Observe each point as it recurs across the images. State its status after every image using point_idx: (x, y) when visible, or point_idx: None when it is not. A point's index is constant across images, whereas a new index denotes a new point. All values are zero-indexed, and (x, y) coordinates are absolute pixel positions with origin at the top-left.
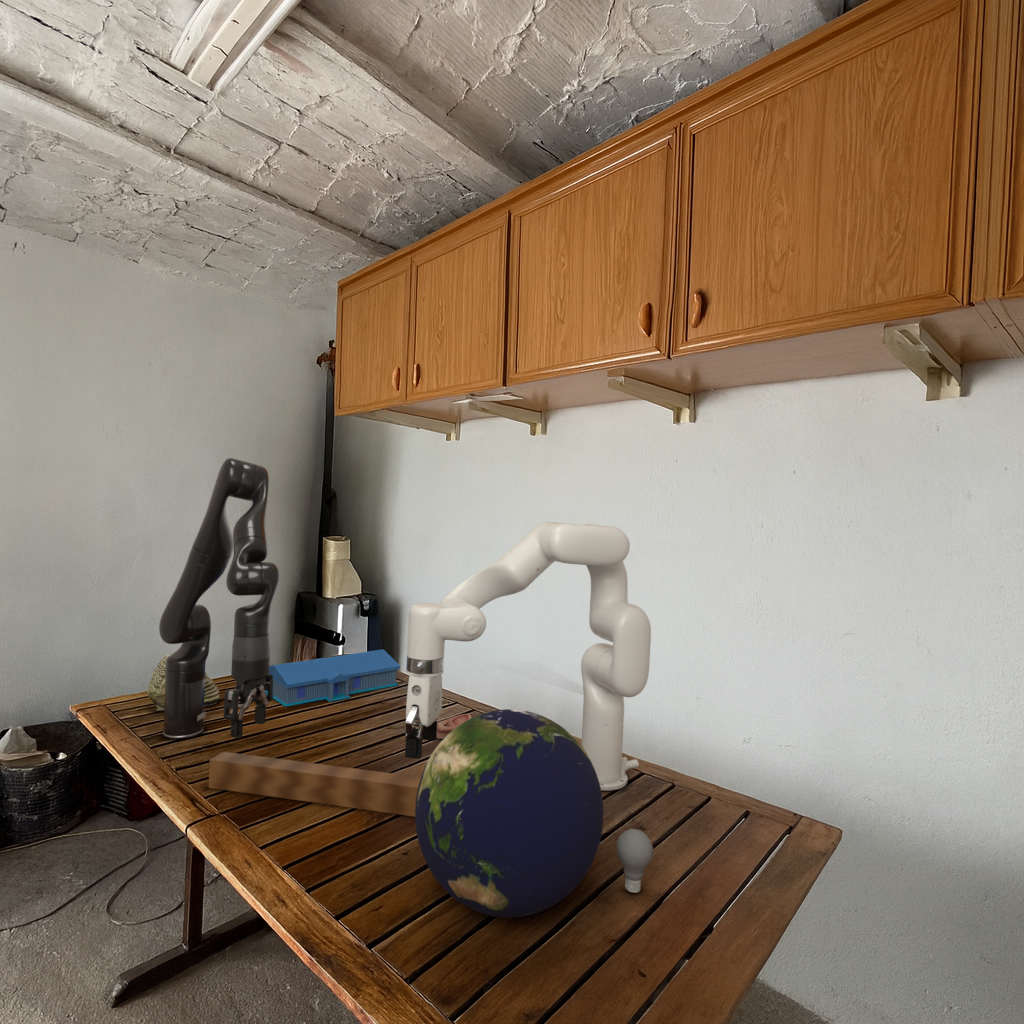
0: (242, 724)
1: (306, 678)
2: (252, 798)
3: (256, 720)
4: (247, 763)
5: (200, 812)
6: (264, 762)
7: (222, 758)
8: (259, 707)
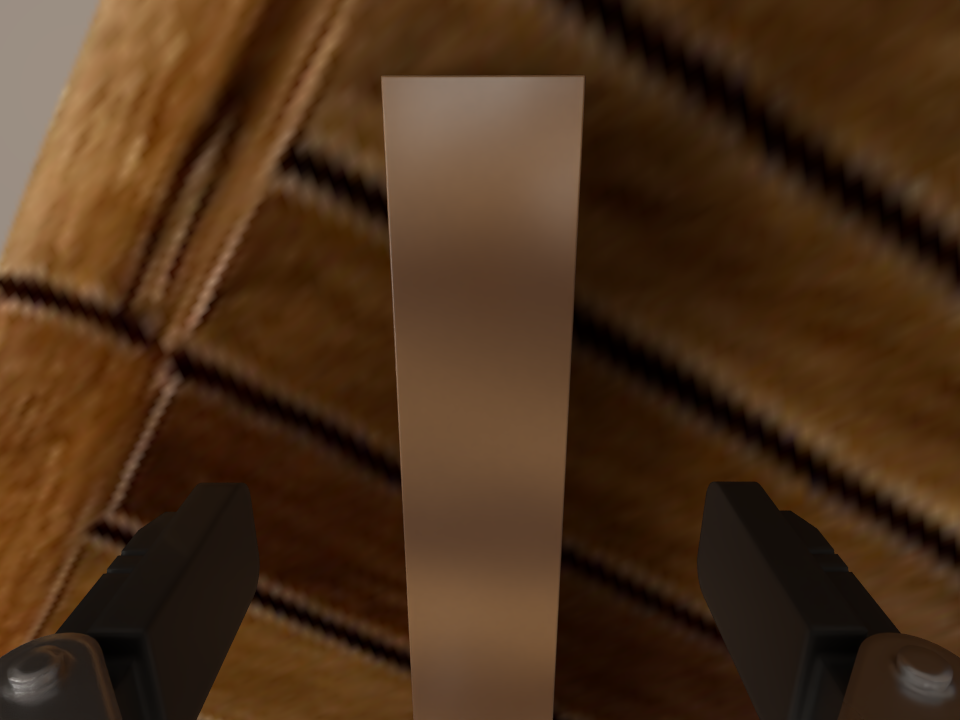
0: (206, 697)
1: None
2: (375, 416)
3: (722, 514)
4: (418, 419)
5: (132, 250)
6: (473, 513)
7: (444, 171)
8: (795, 696)
